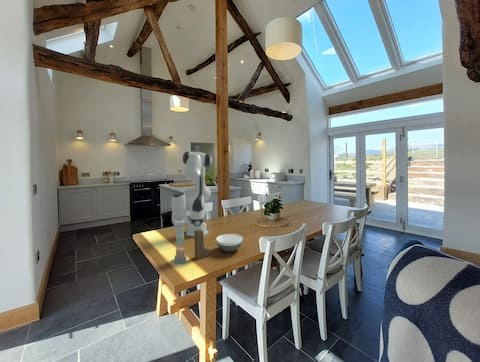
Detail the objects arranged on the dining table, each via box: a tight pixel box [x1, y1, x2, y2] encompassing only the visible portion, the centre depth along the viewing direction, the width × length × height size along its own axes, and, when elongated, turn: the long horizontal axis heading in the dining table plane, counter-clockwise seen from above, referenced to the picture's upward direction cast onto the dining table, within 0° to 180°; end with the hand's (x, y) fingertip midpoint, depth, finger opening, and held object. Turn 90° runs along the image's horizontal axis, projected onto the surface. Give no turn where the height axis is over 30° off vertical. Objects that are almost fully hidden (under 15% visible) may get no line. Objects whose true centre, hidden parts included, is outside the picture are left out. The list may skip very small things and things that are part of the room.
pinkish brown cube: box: [175, 247, 186, 259], centre depth 143 cm, size 5×5×5 cm
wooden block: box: [193, 229, 211, 260], centre depth 148 cm, size 9×4×18 cm, turn 130°
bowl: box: [215, 233, 244, 253], centre depth 160 cm, size 19×19×8 cm
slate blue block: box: [174, 253, 187, 265], centre depth 143 cm, size 7×7×2 cm
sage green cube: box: [175, 234, 185, 246], centre depth 142 cm, size 5×5×5 cm
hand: (180, 240), depth 142 cm, fingers closed on sage green cube, 5 cm apart
